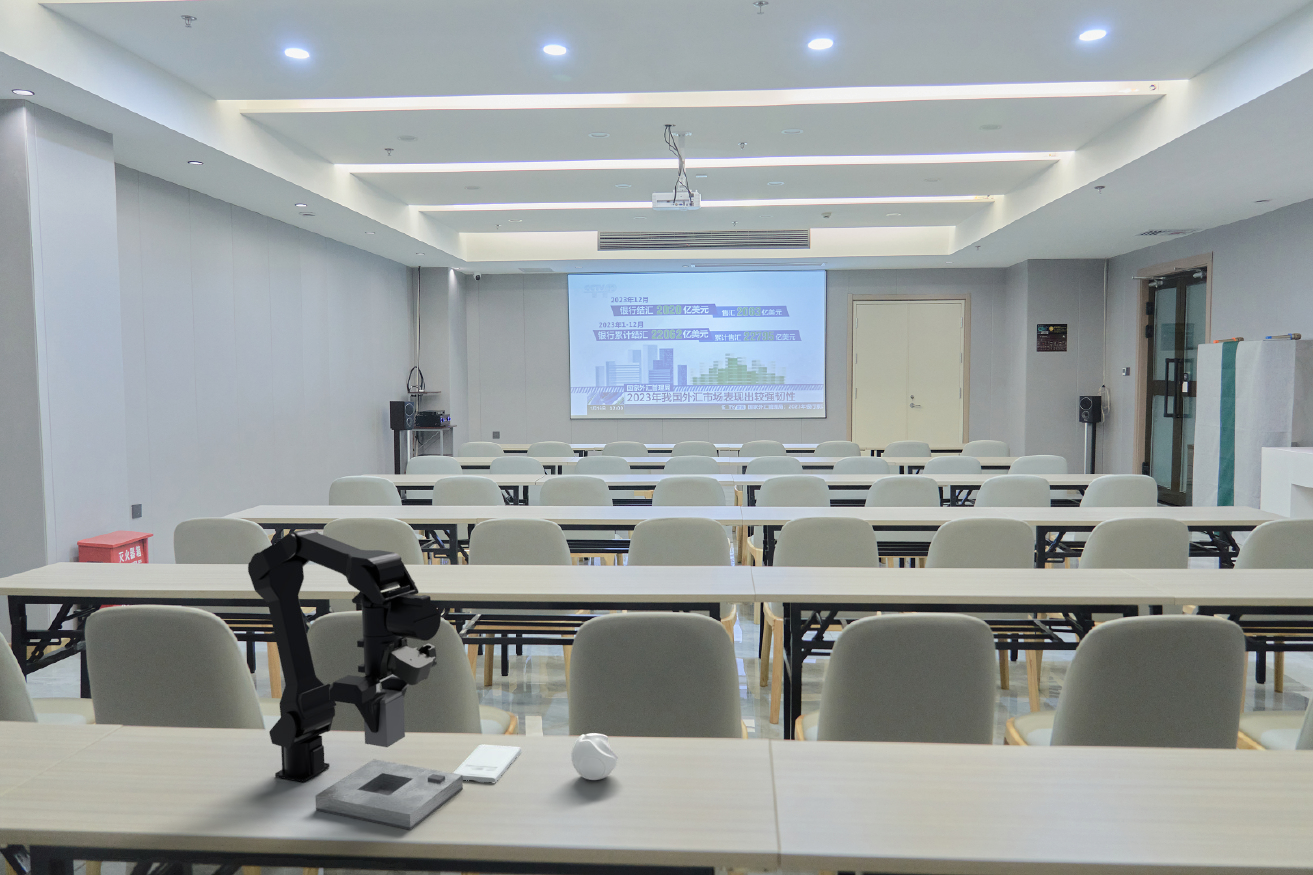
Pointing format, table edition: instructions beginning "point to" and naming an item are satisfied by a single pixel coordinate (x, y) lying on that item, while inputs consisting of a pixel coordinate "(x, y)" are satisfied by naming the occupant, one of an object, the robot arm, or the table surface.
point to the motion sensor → (593, 756)
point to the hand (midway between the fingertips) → (384, 726)
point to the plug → (388, 720)
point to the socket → (390, 793)
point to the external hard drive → (487, 763)
